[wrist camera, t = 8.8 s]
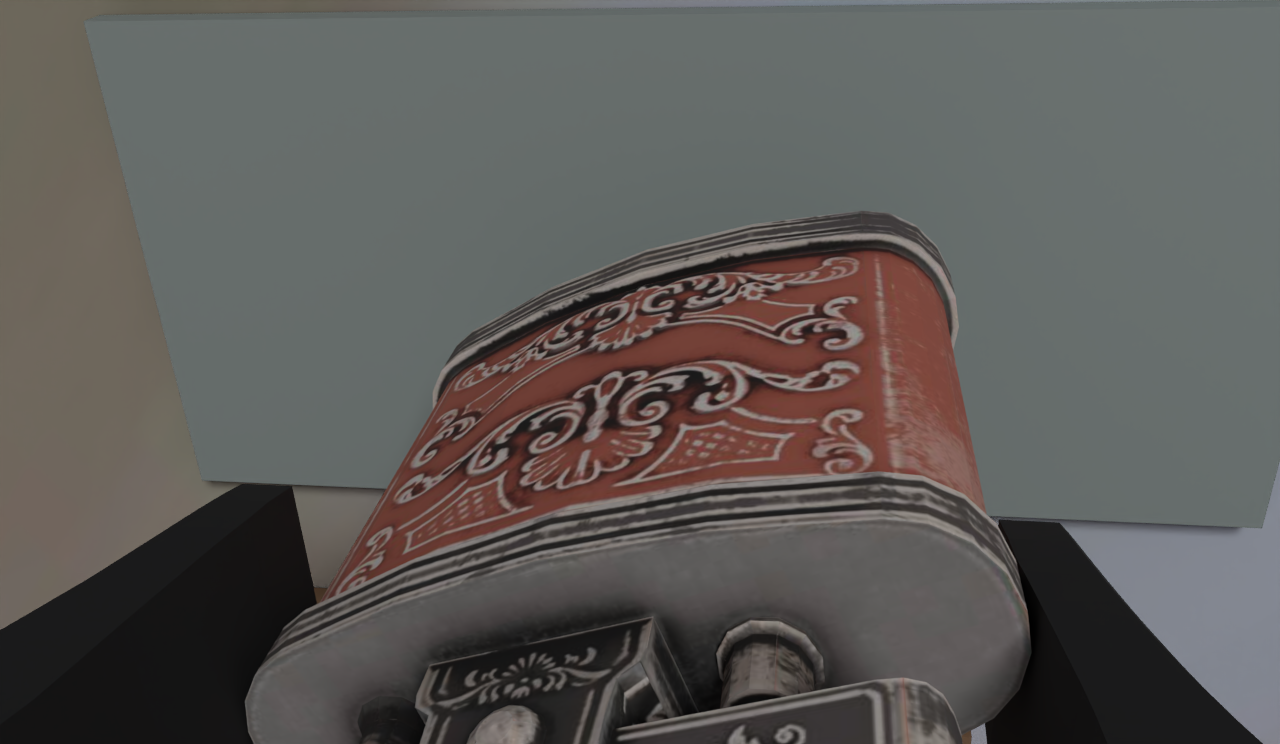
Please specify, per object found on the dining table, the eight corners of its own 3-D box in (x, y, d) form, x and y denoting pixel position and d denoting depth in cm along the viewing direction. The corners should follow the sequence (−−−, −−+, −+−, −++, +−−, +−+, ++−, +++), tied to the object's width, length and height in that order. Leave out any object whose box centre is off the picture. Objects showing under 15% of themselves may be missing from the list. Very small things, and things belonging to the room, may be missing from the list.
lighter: (499, 495, 20) (238, 1096, 11) (411, 324, 18) (33, 854, 10) (979, 372, 17) (1131, 1010, 9) (917, 163, 16) (1025, 671, 7)
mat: (1383, -2, 17) (1399, 5, 16) (1252, 511, 21) (1261, 528, 21) (99, 14, 20) (83, 21, 19) (213, 466, 24) (202, 480, 23)
